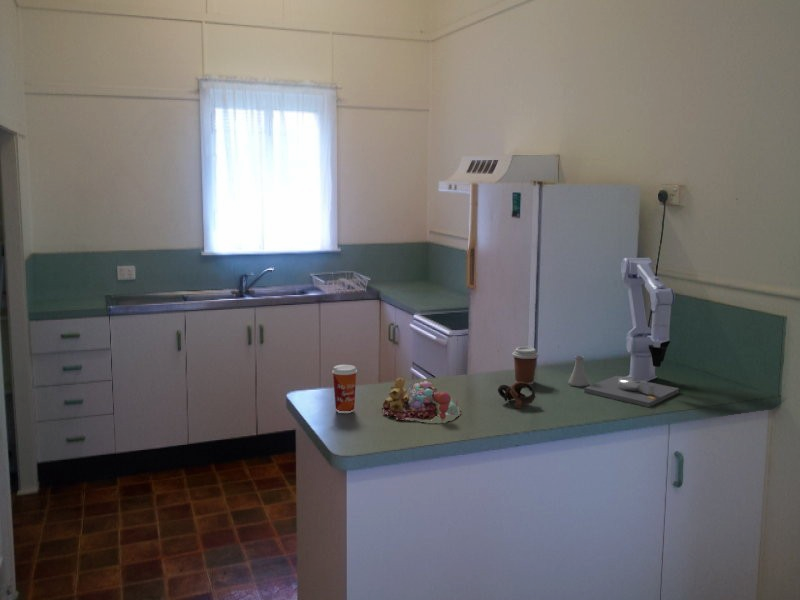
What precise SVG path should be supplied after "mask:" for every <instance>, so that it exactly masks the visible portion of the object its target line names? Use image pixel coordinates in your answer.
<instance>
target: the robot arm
mask: <svg viewBox="0 0 800 600" xmlns="http://www.w3.org/2000/svg"><path fill="white" fill-rule="evenodd" d="M620 265H621V266H620V271H621V278H622V282H623V283H624V284H626V286H627V292H628V298H629V299H628V300H629V307H630V315H631V316H630V317H631V323H632V328H631V329H630V330H629V331H628V332H627V333H626V336H625V337H626V341H625V346H626V351H627V353H629V354H630V363H629V364H630V365H629V366H630V367H629V374H628V375H627V376H626V375H625V377H638V378H642V379H645V380H646V382H649V381H651V380H654V379H657V378H658V376H657V375H656V368H657V367H658V368H660V367H661V365H662V363H663V362H664V359H665V356H666V352H667V348H668V347H669V346H670V345H669V344H670V343H671V340H670V326H671V325H670V324H671V314H672V313H671V311H672V306H674V304H675V302H676V301H675V300H676V296H675V295H676V294H675V291H674V289H673V288H669V287H667V286H666V284H665V283H664V282H663V281H662V279H661V278H660V277H659V276H656V275H655V274H654V272H653V267H654V266H653V261H652V259H651V258H650V257H624V258H623V259H622V261H621V264H620ZM643 284H644V288H645V289H646V291H647V292H648V294H649V295H650V299H649V300H650V304H651V305H650V307H651V308H650V310H651V311H652V317H651V327H649V326H648V322H647V321H648V320H647V314H646V307H645V301H644V294H643V287H642V285H643Z"/></svg>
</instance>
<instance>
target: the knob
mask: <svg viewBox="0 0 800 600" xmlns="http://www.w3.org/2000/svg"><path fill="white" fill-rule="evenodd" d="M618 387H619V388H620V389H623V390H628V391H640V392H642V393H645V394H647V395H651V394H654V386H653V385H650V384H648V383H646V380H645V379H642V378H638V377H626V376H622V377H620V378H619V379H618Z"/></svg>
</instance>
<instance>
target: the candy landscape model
mask: <svg viewBox="0 0 800 600" xmlns="http://www.w3.org/2000/svg"><path fill="white" fill-rule="evenodd" d="M405 382H406V381H405V379H404V378H402V377H397V378H396V379H395V382H394V386H391V387H390V389H391V390H390V391H389V393H388V395H389V396H390V397H387V398H386V399H385V400H384V402H383V403H382V406H383V409H384V410H382V414H383V413H384V414H383V415H386V414H385V413H387V414H388V416H390V417H392V416H393V415H396V417H395V416H393V417H394V419H395V418H398V419H404V418H406V419H418V420H421V421H429V420H431V421H432V420H433V418H434V417H435V416H437V415H438V414H439V415H440V418H441V419H440V421H444V420H445V418H446V415H457V414H459V408H460V407H458V400H456V401H454V400H453V399H452V398H451V396H450V394H449V393H447V392H446V391H445V392H444V391H442V392H439V390H438V389H437V388H436V387H435V386H434V385H433V383H432V382H429V381H427V380H424V381H423V382H422V381H420V382H417V383H416V381H414V382H413V385H412V381H411V382H410V384H409V388H408V390H407V388H404V386H405ZM437 417H439V416H437Z"/></svg>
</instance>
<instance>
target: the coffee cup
mask: <svg viewBox="0 0 800 600" xmlns="http://www.w3.org/2000/svg"><path fill="white" fill-rule="evenodd" d="M511 356H512V357H513V361H514V380H515V383H516V382H525V383H528V384H530V385H532V384H534V382H535V373H536V366H537V358H539V356H540V355H539V353H538V352H537V350H536V348H535V347H531V346H518V347H516V348H515V350H514V351H513V352H512V353H511Z"/></svg>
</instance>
